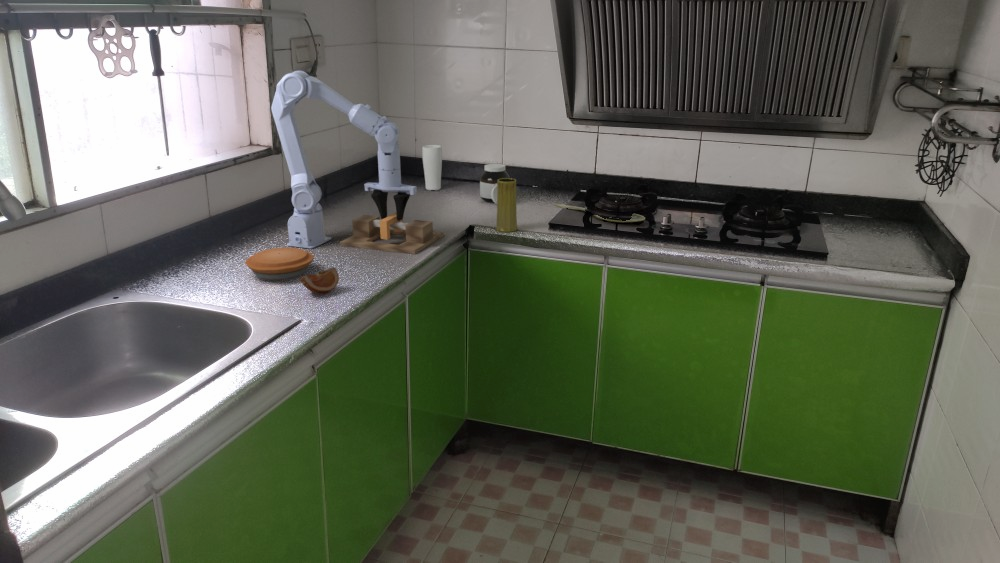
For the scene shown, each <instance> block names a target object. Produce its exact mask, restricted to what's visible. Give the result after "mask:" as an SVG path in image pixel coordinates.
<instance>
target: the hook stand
mask: <svg viewBox="0 0 1000 563" xmlns="http://www.w3.org/2000/svg"><path fill="white" fill-rule="evenodd" d="M380 220H381V216H380V215H369V214H363V215H360V216H359V217H358V216H357V217H356V218H353V219H352V220H351V221H352V224H351V225H352V235H351V236H349V237H346V238H344V239H343V240H341V241H339V246H342V247H350V248H358V249H366V250H367V249H368V250H375V251H384V252H392V253H402V254H409V255H416V254H417V253H419V252H420V251H422V250H424V249H426V248H427V247H428V246H430V245H432V244H433V243H435V242H436V241H438V240H439V239H441V238H443V237H444V236H445V232H444V231H435V230H433V229H434V228H433V224H434V223H433V221H430V220H421V219H420V220H419V219H415V220H412V221H411V222H406V221H403V222H395V223H393V224H391V225H389V226H390V234H392V235H400V236H401V235H402V236H403V235H404V236H405V241H404V242H402V243H400V244H394V243H384V242H378V241H377V242H376V240H378V239H380V238H381V235H380ZM394 229H401V230H403V231H402V232H394Z"/></svg>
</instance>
